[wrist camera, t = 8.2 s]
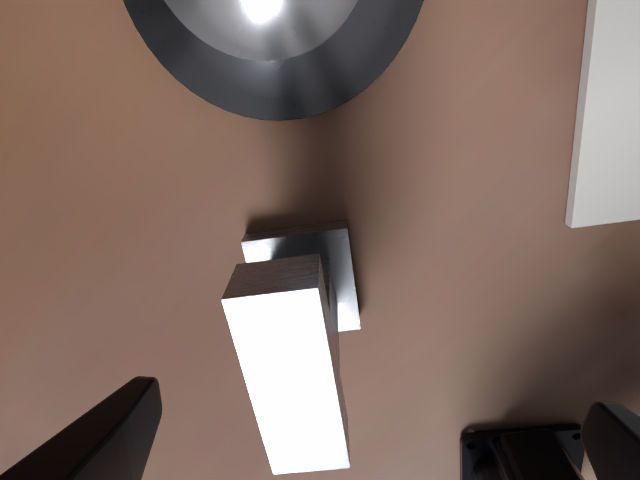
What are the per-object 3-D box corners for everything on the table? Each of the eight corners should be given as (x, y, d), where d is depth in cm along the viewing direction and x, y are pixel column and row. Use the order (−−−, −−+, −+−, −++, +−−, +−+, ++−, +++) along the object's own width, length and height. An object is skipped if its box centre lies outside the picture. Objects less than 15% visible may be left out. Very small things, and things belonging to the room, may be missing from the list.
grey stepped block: (361, 332, 20) (377, 465, 13) (272, 342, 20) (247, 476, 14) (343, 197, 17) (352, 283, 10) (240, 211, 17) (188, 303, 11)
